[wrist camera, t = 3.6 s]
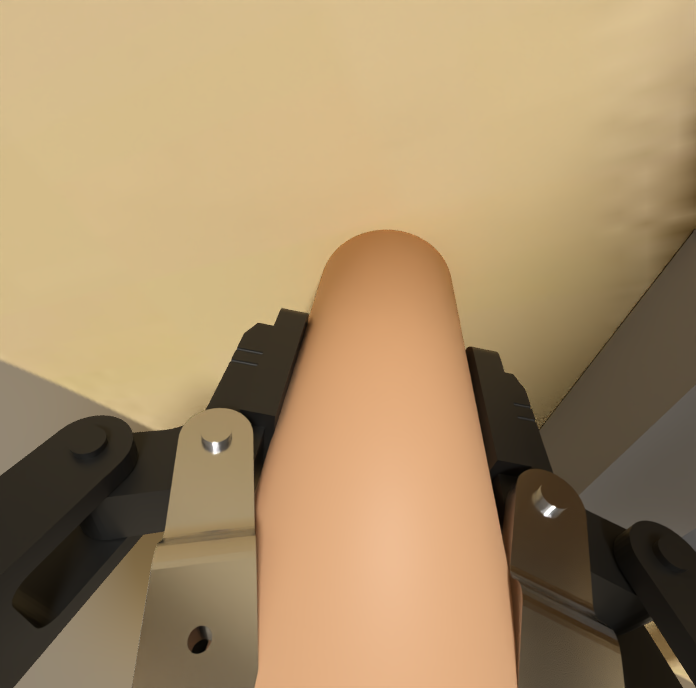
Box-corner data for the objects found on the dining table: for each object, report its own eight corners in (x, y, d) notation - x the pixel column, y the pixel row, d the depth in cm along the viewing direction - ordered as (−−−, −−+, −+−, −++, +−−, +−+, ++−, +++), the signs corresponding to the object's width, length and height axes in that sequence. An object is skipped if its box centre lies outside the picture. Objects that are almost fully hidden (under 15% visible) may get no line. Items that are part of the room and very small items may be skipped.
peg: (330, 216, 12) (162, 686, 4) (471, 246, 12) (637, 766, 4) (314, 329, 15) (197, 742, 6) (428, 352, 15) (466, 788, 6)
